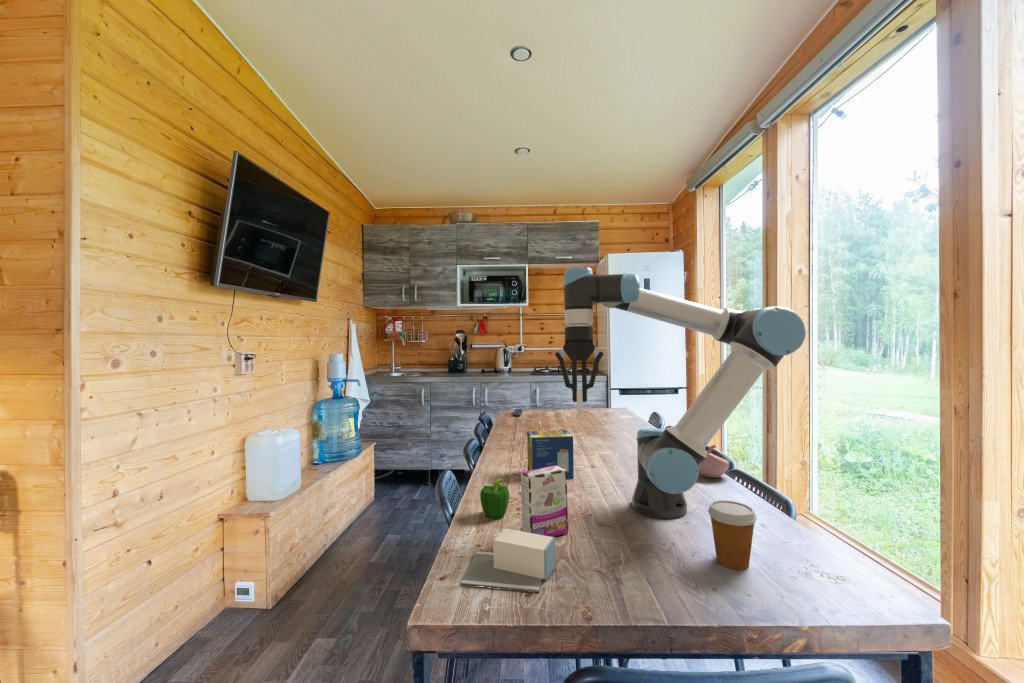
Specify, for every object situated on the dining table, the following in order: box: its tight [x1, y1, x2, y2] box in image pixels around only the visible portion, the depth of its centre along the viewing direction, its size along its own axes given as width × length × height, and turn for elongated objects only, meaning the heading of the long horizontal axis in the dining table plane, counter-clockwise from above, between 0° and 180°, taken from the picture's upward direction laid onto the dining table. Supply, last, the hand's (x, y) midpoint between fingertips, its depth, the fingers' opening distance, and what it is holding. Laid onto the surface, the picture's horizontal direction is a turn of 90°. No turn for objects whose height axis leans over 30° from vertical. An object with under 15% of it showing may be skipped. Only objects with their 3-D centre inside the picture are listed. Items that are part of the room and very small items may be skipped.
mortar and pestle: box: [698, 444, 730, 479], centre depth 152 cm, size 12×12×12 cm
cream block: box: [492, 528, 557, 581], centre depth 92 cm, size 6×6×12 cm
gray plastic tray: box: [459, 551, 543, 593], centre depth 91 cm, size 16×13×1 cm
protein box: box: [526, 429, 575, 480], centre depth 156 cm, size 10×15×16 cm
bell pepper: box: [479, 478, 510, 520], centre depth 121 cm, size 8×8×10 cm
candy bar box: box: [520, 466, 569, 538], centre depth 108 cm, size 11×5×16 cm, turn 118°
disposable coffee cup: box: [707, 499, 758, 570], centre depth 94 cm, size 10×10×12 cm
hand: (579, 414), depth 114 cm, fingers closed
